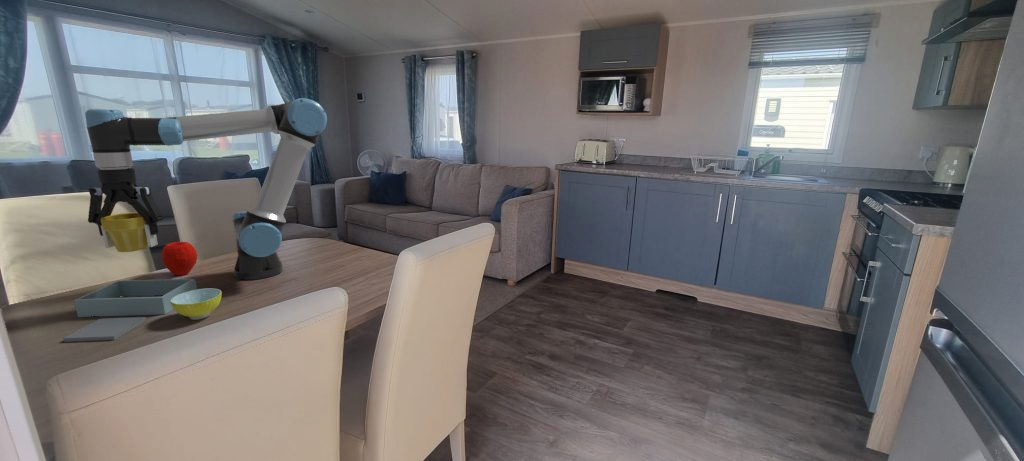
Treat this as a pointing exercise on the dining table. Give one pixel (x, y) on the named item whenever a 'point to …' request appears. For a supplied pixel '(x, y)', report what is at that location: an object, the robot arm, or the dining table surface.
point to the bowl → (197, 302)
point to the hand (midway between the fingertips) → (132, 246)
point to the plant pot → (126, 231)
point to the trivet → (105, 329)
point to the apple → (179, 257)
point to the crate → (111, 305)
